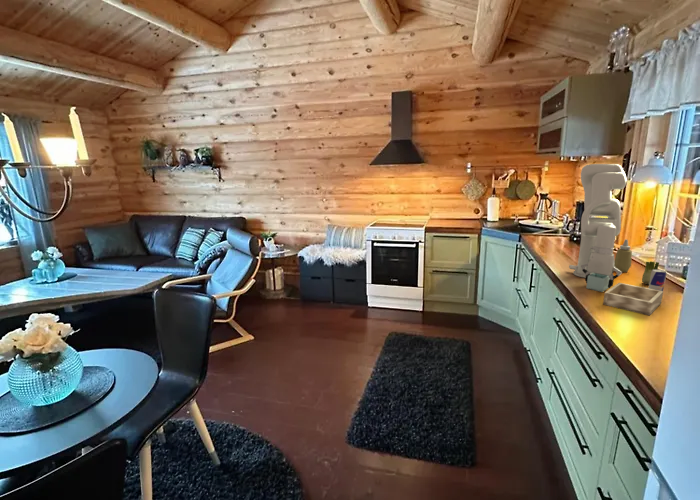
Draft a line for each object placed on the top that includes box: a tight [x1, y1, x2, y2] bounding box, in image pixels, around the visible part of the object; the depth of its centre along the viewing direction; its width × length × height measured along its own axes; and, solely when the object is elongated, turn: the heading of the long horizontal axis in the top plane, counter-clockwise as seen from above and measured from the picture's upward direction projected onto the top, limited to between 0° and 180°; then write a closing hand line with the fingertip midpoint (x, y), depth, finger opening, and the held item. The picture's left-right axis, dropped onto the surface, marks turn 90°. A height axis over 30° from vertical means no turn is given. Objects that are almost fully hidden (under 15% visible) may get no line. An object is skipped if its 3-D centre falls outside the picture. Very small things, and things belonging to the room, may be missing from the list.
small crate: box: [585, 273, 610, 293], centre depth 186 cm, size 7×10×6 cm
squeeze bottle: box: [614, 239, 633, 273], centre depth 213 cm, size 8×8×18 cm
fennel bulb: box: [641, 261, 660, 286], centre depth 190 cm, size 6×5×12 cm
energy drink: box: [648, 268, 667, 292], centre depth 174 cm, size 5×5×12 cm
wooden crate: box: [602, 282, 664, 317], centre depth 165 cm, size 16×20×6 cm
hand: (598, 284), depth 186 cm, fingers open, 9 cm apart
